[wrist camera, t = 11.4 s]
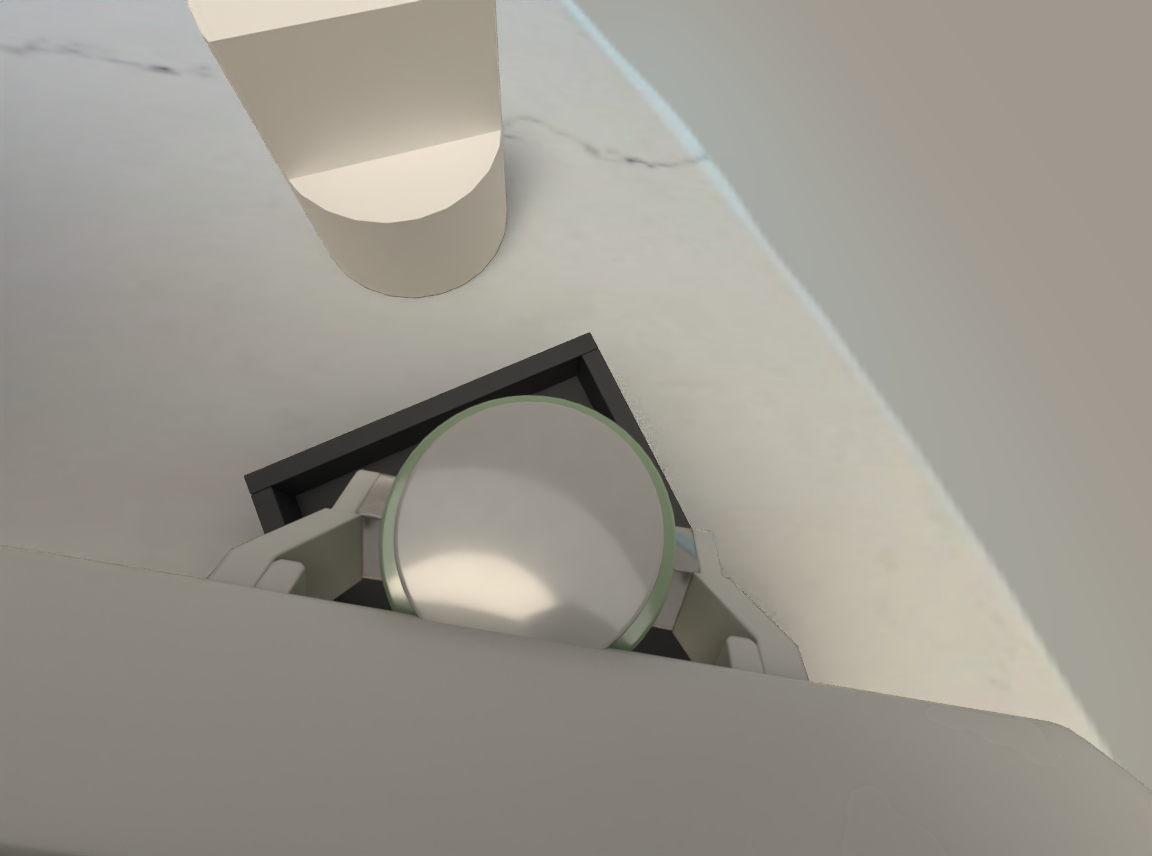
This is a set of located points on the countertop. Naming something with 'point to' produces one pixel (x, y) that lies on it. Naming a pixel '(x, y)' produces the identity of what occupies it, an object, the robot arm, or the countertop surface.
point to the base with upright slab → (377, 127)
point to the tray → (392, 439)
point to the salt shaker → (530, 526)
